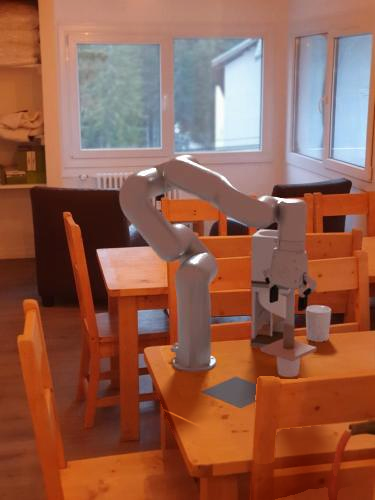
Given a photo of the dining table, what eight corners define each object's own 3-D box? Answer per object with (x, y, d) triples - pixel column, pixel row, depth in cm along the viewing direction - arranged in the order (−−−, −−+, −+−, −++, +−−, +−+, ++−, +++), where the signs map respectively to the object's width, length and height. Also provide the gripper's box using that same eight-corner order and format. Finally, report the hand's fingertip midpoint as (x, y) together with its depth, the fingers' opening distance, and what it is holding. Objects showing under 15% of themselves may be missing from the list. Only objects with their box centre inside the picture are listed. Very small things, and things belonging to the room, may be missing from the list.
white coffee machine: (250, 345, 219) (251, 235, 211) (258, 334, 229) (260, 229, 221) (286, 350, 215) (289, 238, 207) (293, 338, 225) (296, 231, 217)
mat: (200, 393, 186) (200, 391, 186) (235, 377, 195) (235, 376, 195) (240, 409, 176) (240, 408, 176) (275, 392, 186) (275, 391, 185)
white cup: (304, 342, 222) (305, 312, 219) (305, 333, 229) (305, 304, 227) (330, 343, 220) (331, 313, 218) (329, 335, 228) (330, 305, 226)
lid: (260, 351, 196) (260, 325, 194) (284, 341, 203) (285, 316, 202) (292, 361, 188) (293, 334, 186) (316, 350, 196) (317, 325, 194)
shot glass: (299, 380, 193) (300, 356, 192) (274, 378, 195) (275, 354, 193) (301, 370, 200) (301, 347, 198) (276, 368, 201) (277, 345, 200)
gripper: (257, 241, 192) (254, 301, 196) (309, 253, 180) (305, 316, 184) (274, 237, 197) (271, 296, 201) (325, 248, 186) (322, 310, 190)
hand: (287, 305), depth 193 cm, fingers open, 9 cm apart
